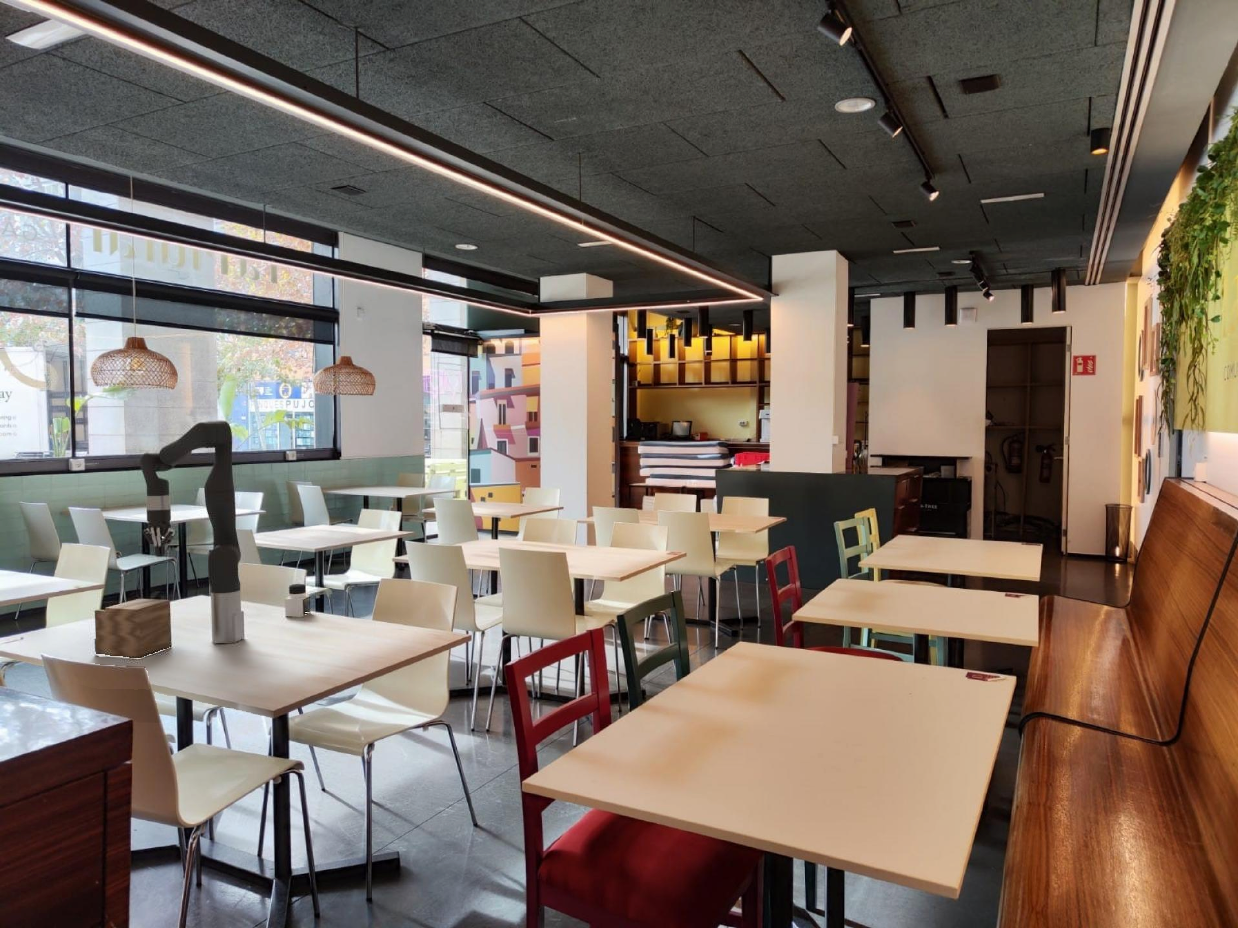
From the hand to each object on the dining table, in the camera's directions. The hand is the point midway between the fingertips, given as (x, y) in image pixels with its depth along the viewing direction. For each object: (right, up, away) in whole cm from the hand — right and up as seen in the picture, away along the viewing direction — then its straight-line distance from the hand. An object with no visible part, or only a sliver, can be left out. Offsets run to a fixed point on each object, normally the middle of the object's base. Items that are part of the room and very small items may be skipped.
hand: (160, 556), depth 300 cm
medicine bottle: (+39, -26, +25) cm, 53 cm away
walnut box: (+6, -28, -26) cm, 39 cm away
